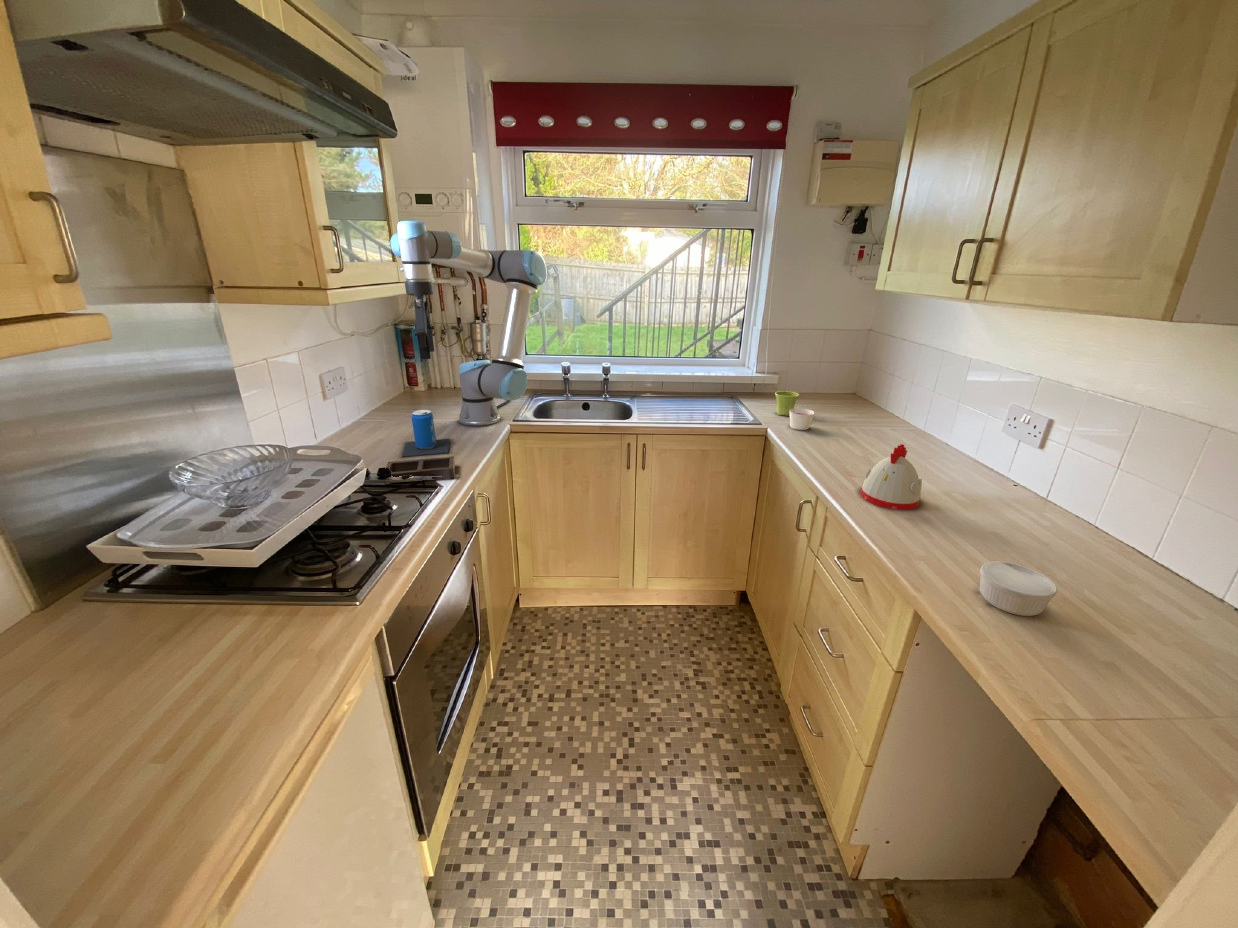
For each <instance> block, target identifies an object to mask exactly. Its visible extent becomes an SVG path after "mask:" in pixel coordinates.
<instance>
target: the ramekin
mask: <svg viewBox="0 0 1238 928" xmlns="http://www.w3.org/2000/svg"><path fill="white" fill-rule="evenodd" d="M979 574H980V577H979V579H980V580H979V592H980V594H981V596H982V597H983V599H984V600H985V601H986V602H987V603H988V604H990V605H992V606H993V607H995V608H997V609H999V610H1001V611H1004V612H1005V613H1008V614H1012V615H1016V616H1023V617H1033V616H1037V615H1039V614H1041V613H1043V611H1044V610H1045V609H1046V608H1047V606H1048V605H1049V604H1050V602H1051V600H1052V599H1054V598H1055V597H1056V595H1057V593H1058V588H1057V585H1056V584H1055V583H1054V581H1052V580H1051V579H1050V578H1048V577H1047V576H1046V575H1044V574H1042V573H1040V572H1039V571H1036V570H1033V569H1032V568H1030V567H1027V566H1024V565H1020V564H1017V563H1014V562H1013V563H1012V562H1009V561H1000V560H999V561H997V560H996V561H995V560H994V561H988V562H985V563H984V564H982V566H981V568H980V570H979Z"/></svg>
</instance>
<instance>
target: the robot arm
mask: <svg viewBox="0 0 1238 928" xmlns="http://www.w3.org/2000/svg"><path fill="white" fill-rule="evenodd" d="M390 249H391V251H392V253H393V254H394V256H395V257H397V258H398V259H401V263H402V267H401V268H400V272H403V278H404V280H406V281H405V282H404V289H405V294H406V295H407V296H415V297H414V299H413V303H412V304H413V308H414V319H415V332H414V337H417V342H418V349H419V357H420V360H431V353H435V345H434V336H433V330H435V326H434V325H433V324H432V320H431V314H430V313H431V312H430V311H431V310H430V302H429V300H428V299H429V298H428V296H432V295H434V293H435V292H434V283H433V282H432V281H431V280H432V279H433V276H432V264H435V265H438V266H444V267H448V268H452V269H457V270H461V271H464V272H469V273H473V274H475V276H477V277H479V278H483V279H487V280H489V281H493V282H497V283H500V284H504V286H505V288H506V289H507V296H506V302H505V307H504V314H503V319H502V325H501V331H500V337H499V338H500V339H499V342H498V347H497V354H496V355H495V357H493V358H492V359H491V360H489V359H481V360H480V359H479V360H472V361H467V362H463V363H461V364H460V365H459V368H458V370H459V374H458V375H459V376H458V377H459V384H460V393H461V399H462V401H461V403H462V404H461V409H460V411H459V417H458V418H459V423H460V424H461V425H464V426H468V427H482V426H484V427H485V426H490V425H494V424H496V423H498V422H500V421H501V415H500V412H499V408H501V407H503V406H505V405H507V404H509V403H510V401H516V400H519V399H520V398H521V397H522V396H524V394H526V391H527V389H528V386H529V377H528V374H527V372H526V371H525V370H524V369H525V365H524V364H523V362H522V357H523V349H524V343H525V338H526V333H527V327H528V321H529V315H530V309H531V303H532V298H533V296H534V295H536V294H537V292H538V289H539V286H541V285H543V284H544V283H545V282H546V281H547V275H548V269H547V265H546V262H545V259H544V257H543V256H542V254H541V253H540V252H539V251H536V250H530V249H512V250H511V249H503V250H488V249H484V248H480V249H473V248H469V247H466V246H462V241H461V239H460V237H459V236H458V235H457V234H456V233H454V232H451V231H447V230H446V231H445V230H444V231H443V230H442V231H441V230H428V229H427V225H426V223H425V222H424V221H420V220H419V221H418V220H400V221H399V222H398V223H397V232H396V233H394V234H392V236H391V238H390ZM495 399H501V400H504V402H502V403H500V404H498V405H496V403H495Z"/></svg>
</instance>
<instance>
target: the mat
mask: <svg viewBox="0 0 1238 928" xmlns="http://www.w3.org/2000/svg"><path fill="white" fill-rule="evenodd" d="M449 451H450V438H441V439H436V445H435V446H434V447H433V448H431V449H425V450H423V449H419V448H418V447H416V444H415V440H414V441H406V443H405V445H404V448H403V451H402V454H401V457H402V458H409V457H410V458H411V457H422V456H423V457H424V456H433V455H444V454H445V455H447V454H449Z"/></svg>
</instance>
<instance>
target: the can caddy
mask: <svg viewBox="0 0 1238 928" xmlns="http://www.w3.org/2000/svg"><path fill="white" fill-rule="evenodd" d="M386 468H389V470H391V471H392V472H391V474H392V476H393V477H399V476H403V475H412V476H442V477H432V479H436V480H435V481H443V480H453V479H455V478H456V477H455V476H456V475H455V474H456V463H455V456H445V457H442V456H441V457H430V458H420V459H408V460H397V461H388V462H387V463H386V466H385V469H386Z"/></svg>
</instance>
